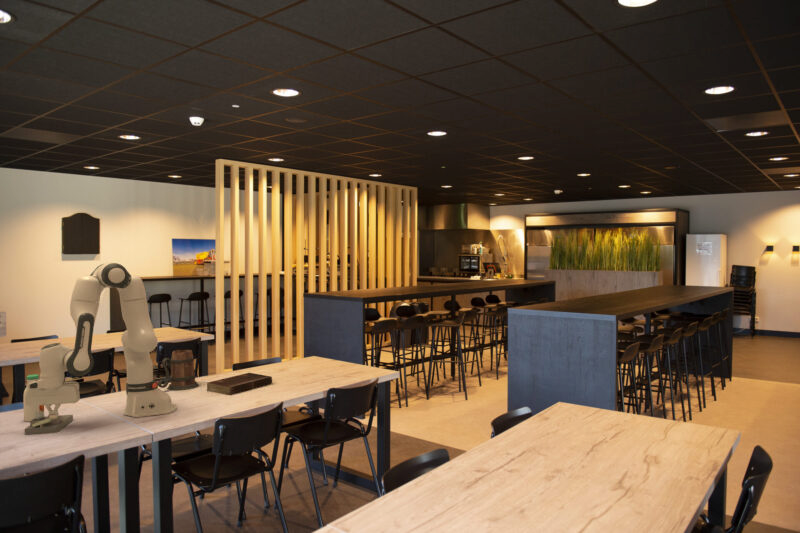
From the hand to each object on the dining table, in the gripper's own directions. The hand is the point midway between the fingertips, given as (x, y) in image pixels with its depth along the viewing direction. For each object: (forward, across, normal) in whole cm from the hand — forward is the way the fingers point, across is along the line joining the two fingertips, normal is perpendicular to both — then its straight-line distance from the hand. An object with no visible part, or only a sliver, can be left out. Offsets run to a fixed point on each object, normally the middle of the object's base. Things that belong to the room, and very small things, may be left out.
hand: (53, 414), depth 240 cm
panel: (+6, +2, -2) cm, 7 cm away
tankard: (+6, -38, -64) cm, 75 cm away
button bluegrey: (+1, +6, 0) cm, 6 cm away
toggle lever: (+1, +2, -6) cm, 7 cm away
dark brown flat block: (+6, -72, -56) cm, 91 cm away
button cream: (+3, 0, 0) cm, 3 cm away
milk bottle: (+6, +14, -18) cm, 24 cm away
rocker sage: (+2, +2, +4) cm, 6 cm away
